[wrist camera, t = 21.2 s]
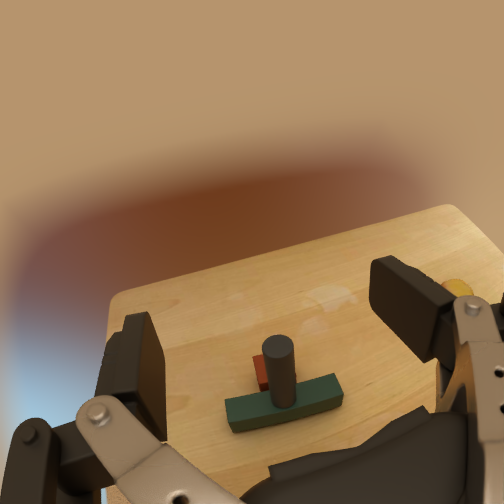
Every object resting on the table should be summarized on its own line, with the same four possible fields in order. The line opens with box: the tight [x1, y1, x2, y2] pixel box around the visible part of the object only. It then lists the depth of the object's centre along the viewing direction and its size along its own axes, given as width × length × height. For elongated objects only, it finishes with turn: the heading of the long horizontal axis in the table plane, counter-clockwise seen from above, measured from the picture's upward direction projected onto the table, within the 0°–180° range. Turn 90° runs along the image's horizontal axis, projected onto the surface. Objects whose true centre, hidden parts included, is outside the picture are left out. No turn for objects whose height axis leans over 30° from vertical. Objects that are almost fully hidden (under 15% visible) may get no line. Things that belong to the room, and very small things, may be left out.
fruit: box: [441, 279, 474, 297], centre depth 35 cm, size 7×7×10 cm
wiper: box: [225, 335, 344, 433], centre depth 27 cm, size 12×3×12 cm, turn 100°
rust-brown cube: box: [253, 354, 296, 392], centre depth 33 cm, size 4×4×4 cm
